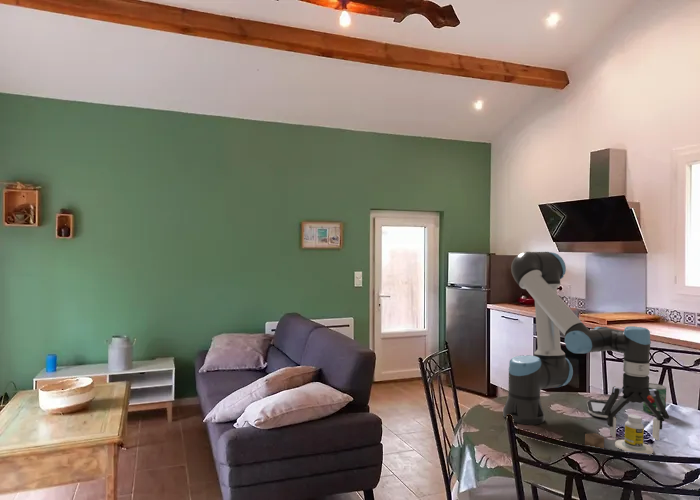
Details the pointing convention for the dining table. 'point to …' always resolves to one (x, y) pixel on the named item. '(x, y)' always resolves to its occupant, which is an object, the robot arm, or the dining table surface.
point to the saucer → (644, 449)
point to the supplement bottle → (634, 431)
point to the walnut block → (594, 440)
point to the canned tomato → (662, 396)
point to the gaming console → (596, 408)
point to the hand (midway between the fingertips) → (634, 437)
